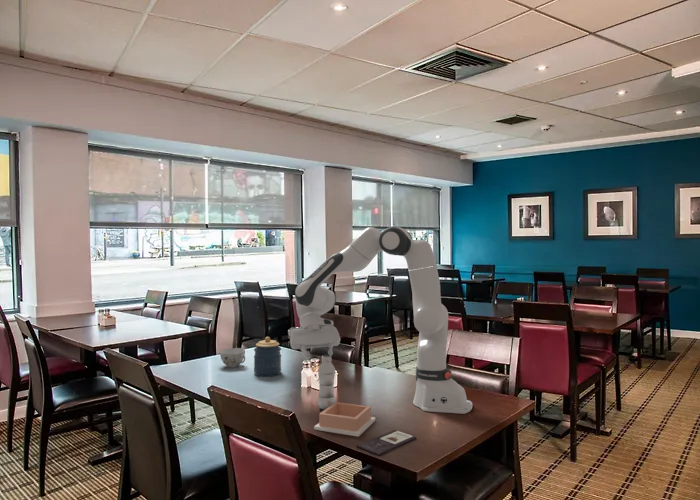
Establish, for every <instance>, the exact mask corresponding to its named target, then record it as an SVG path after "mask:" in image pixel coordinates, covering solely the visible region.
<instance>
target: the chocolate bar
mask: <svg viewBox="0 0 700 500" xmlns="http://www.w3.org/2000/svg"><path fill="white" fill-rule="evenodd" d="M415 440H417V436H414V435H411V434H408V433H405V432H402V431H399V430H396V429H392V430H391V431H389V432H386V433H383V434H381V435H379V436H377V437H373V438H372V439H369V440H367V441H364V442H362V443H359V444H357V445H356V448H358V449H360V450H362V451H365V452H368V453H369V454H372V455H375V456H377V457H380V456H383V455H384V454H386V453H388V452H392V451H394V450H395V449H398V448H400V447H402V446H404V445H407V444H408V443H410V442H413V441H415Z"/></svg>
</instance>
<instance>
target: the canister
mask: <svg viewBox="0 0 700 500" xmlns="http://www.w3.org/2000/svg"><path fill="white" fill-rule="evenodd" d="M279 345H280V343H279V342H278V341H277V340H275V339H271V337H270V336H266V337H265V338H264V339H263V340H259V341H258V342H257V343H256V344H255V348H254V349H253V351H254V356H253V373H254V375H255V376H258V377H266V378H268V377H275V376H276V377H277V376H278V375H281V374H282V373H281V371H282V354H281V351H282V348H281V347H280V346H279Z"/></svg>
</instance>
